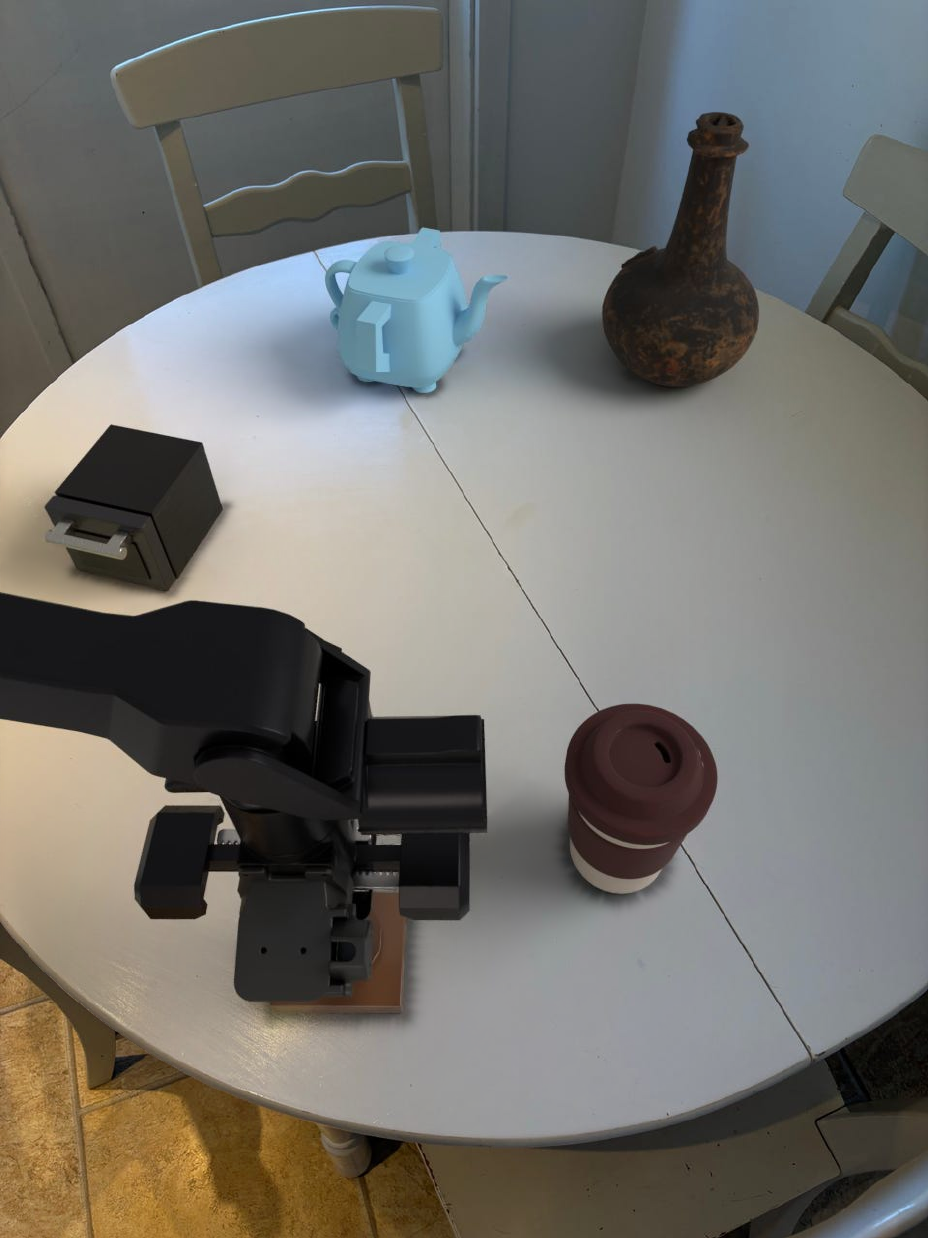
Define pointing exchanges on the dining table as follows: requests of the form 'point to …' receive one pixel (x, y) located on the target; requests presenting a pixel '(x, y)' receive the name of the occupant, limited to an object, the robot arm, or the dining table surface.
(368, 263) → the teapot
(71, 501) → the oven door
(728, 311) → the glass bottle
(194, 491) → the oven
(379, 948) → the control block
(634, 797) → the coffee cup
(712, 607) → the dining table surface
